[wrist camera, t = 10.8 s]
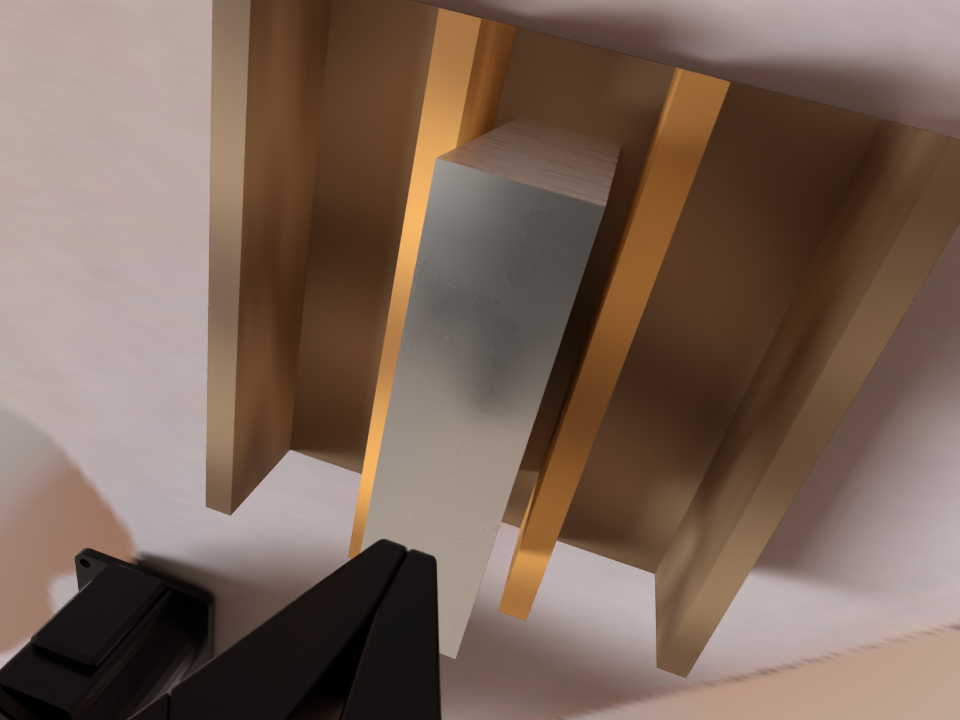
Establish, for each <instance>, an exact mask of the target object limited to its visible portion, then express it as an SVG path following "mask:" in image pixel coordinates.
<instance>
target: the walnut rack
mask: <svg viewBox="0 0 960 720" xmlns="http://www.w3.org/2000/svg"><path fill="white" fill-rule="evenodd" d="M519 117H524V118H528V119H532V120H535V121H539V122H542V123H546V124H549V125H553V126H556V127H560V128H564V129H567V130H571V131H574V132H578V133H581V134H585V135H588V136H592V137H596V138H599V139H603V140H606V141H610V142H613V143H617V144H621V149H620V153H619V157H618V161H617V164H616V168H615V172H614V176H613V180H612V184H611V187H610V191H609V195H608V199H607V203H606V207H605V210H604V213H603V216H602V219H601V222H600V225H599V228H598V231H597V234H596V237H595V240H594V243H593V246H592V249H591V252H590V255H589V258H588V261H587V264H586V267H585V270H584V273H583V276H582V279H581V282H580V285H579V288H578V291H577V294H576V297H575V300H574V303H573V306H572V309H571V312H570V315H569V318H568V321H567V324H566V327H565V331H564V334H563V337H562V340H561V343H560V346H559V349H558V352H557V355H556V358H555V361H554V364H553V367H552V370H551V373H550V376H549V379H548V382H547V385H546V388H545V391H544V394H543V397H542V400H541V403H540V406H539V409H538V412H537V415H536V418H535V421H534V424H533V427H532V430H531V433H530V436H529V439H528V442H527V445H526V448H525V451H524V454H523V457H522V460H521V463H520V466H519V469H518V472H517V475H516V478H515V481H514V484H513V487H512V490H511V493H510V496H509V499H508V502H507V505H506V509H505V512H504V515H503V518H502V521H501V522H504V523H507V524H510V525H513V526H516V527H519V528H520V531H519V535H518V538H517V542H516V546H515V550H514V554H513V557H512V561H511V565H510V569H509V573H508V576H507V580H506V584H505V588H504V592H503V595H502V599H501V603H500V607H499V610H498V611H500V612H502V613H505V614H508V615H511V616H514V617H516V618H519V619H522V620H525V621H526V619H527V617H528V614H529V611H530V609H531V606H532V603H533V601H534V598H535V596H536V593H537V590H538V588H539V585H540V582H541V580H542V577H543V575H544V572H545V569H546V567H547V564H548V561H549V559H550V556H551V553H552V551H553V548H554V546H555V543H556V540H557V541H560V542H563V543H566V544H569V545H571V546H574V547H577V548H580V549H583V550H586V551H589V552H592V553H595V554H598V555H601V556H604V557H607V558H610V559H613V560H616V561H618V562H621V563H624V564H627V565H630V566H633V567H636V568H639V569H642V570H645V571H648V572H651V573H654V574H655V599H656V649H657V668H659V669H662V670H665V671H668V672H671V673H673V674H676V675H679V676H682V677H685V678H686V677H687V675H688V674H689V672H690V670H691V669H692V667H693V665H694V664H695V662H696V660H697V659H698V657H699V655H700V654H701V652H702V651H703V649H704V647H705V646H706V644H707V642H708V641H709V639H710V637H711V636H712V634H713V632H714V631H715V629H716V627H717V626H718V624H719V622H720V621H721V619H722V617H723V616H724V614H725V612H726V611H727V609H728V607H729V606H730V604H731V602H732V601H733V599H734V597H735V596H736V594H737V592H738V591H739V589H740V587H741V586H742V584H743V582H744V581H745V579H746V577H747V576H748V574H749V572H750V571H751V569H752V567H753V566H754V564H755V562H756V561H757V559H758V557H759V556H760V554H761V552H762V551H763V549H764V547H765V546H766V544H767V542H768V541H769V539H770V537H771V536H772V534H773V532H774V531H775V529H776V527H777V526H778V524H779V522H780V521H781V519H782V517H783V516H784V514H785V512H786V511H787V509H788V507H789V506H790V504H791V502H792V501H793V499H794V497H795V496H796V494H797V492H798V491H799V489H800V488H801V486H802V484H803V483H804V481H805V479H806V478H807V476H808V474H809V473H810V471H811V469H812V468H813V466H814V464H815V463H816V461H817V459H818V458H819V456H820V454H821V453H822V451H823V449H824V448H825V446H826V444H827V443H828V441H829V439H830V438H831V436H832V434H833V433H834V431H835V429H836V428H837V426H838V424H839V423H840V421H841V419H842V418H843V416H844V414H845V413H846V411H847V409H848V408H849V406H850V404H851V403H852V401H853V399H854V398H855V396H856V394H857V393H858V391H859V389H860V388H861V386H862V384H863V383H864V381H865V379H866V378H867V376H868V374H869V373H870V371H871V369H872V368H873V366H874V364H875V363H876V361H877V359H878V358H879V356H880V354H881V353H882V351H883V349H884V348H885V346H886V344H887V343H888V341H889V339H890V338H891V336H892V334H893V333H894V331H895V329H896V328H897V326H898V325H899V323H900V321H901V320H902V318H903V316H904V315H905V313H906V311H907V310H908V308H909V306H910V305H911V303H912V301H913V300H914V298H915V296H916V295H917V293H918V291H919V290H920V288H921V286H922V285H923V283H924V281H925V280H926V278H927V276H928V275H929V273H930V271H931V270H932V268H933V266H934V265H935V263H936V261H937V260H938V258H939V256H940V255H941V253H942V251H943V250H944V248H945V246H946V245H947V243H948V241H949V240H950V238H951V236H952V235H953V233H954V231H955V230H956V228H957V226H958V225H959V223H960V139H956V138H952V137H948V136H944V135H941V134H937V133H933V132H929V131H925V130H922V129H918V128H914V127H910V126H907V125H903V124H899V123H895V122H891V121H887V120H883V119H879V118H875V117H871V116H867V115H863V114H859V113H855V112H851V111H847V110H843V109H840V108H836V107H832V106H828V105H824V104H820V103H816V102H812V101H808V100H804V99H800V98H796V97H792V96H788V95H784V94H780V93H776V92H772V91H768V90H764V89H760V88H757V87H753V86H749V85H745V84H741V83H737V82H733V81H729V80H725V79H721V78H717V77H713V76H709V75H705V74H701V73H697V72H693V71H689V70H685V69H681V68H677V67H674V66H670V65H666V64H662V63H658V62H654V61H650V60H646V59H642V58H638V57H634V56H630V55H626V54H622V53H618V52H614V51H610V50H606V49H602V48H598V47H595V46H591V45H587V44H583V43H579V42H575V41H571V40H567V39H563V38H559V37H555V36H551V35H547V34H543V33H539V32H535V31H531V30H527V29H523V28H519V27H515V26H512V25H508V24H504V23H500V22H496V21H492V20H488V19H484V18H480V17H476V16H472V15H468V14H464V13H460V12H456V11H452V10H448V9H444V8H440V7H436V6H432V5H429V4H425V3H421V2H417V1H413V0H213V12H212V86H211V159H210V233H209V307H208V381H207V454H206V507H208V508H211V509H214V510H216V511H219V512H222V513H225V514H228V515H230V516H231V515H232V513H233V512H234V511H235V510H236V509H237V508H238V507H239V506H240V505H241V503H242V502H243V501H244V500H245V499H246V498H247V497H248V496H249V495H250V493H251V492H252V491H253V490H254V489H255V488H256V487H257V486H258V485H259V483H260V482H261V481H262V480H263V479H264V478H265V477H266V476H267V475H268V473H269V472H270V471H271V470H272V469H273V468H274V467H275V466H276V465H277V463H278V462H279V461H280V460H281V459H282V458H283V457H284V456H285V455H286V454H287V452H288V451H289V450H293V451H296V452H299V453H302V454H304V455H307V456H310V457H313V458H316V459H319V460H322V461H325V462H328V463H331V464H334V465H337V466H340V467H343V468H346V469H348V470H351V471H354V472H357V473H360V474H362V477H361V483H360V489H359V495H358V501H357V507H356V513H355V519H354V526H353V532H352V538H351V544H350V550H349V556H348V558H351V559H353V558H354V557H355V556H357V555H358V554H360V551H361V545H362V540H363V535H364V530H365V525H366V519H367V514H368V509H369V504H370V499H371V493H372V488H373V483H374V478H375V473H376V467H377V462H378V457H379V452H380V447H381V441H382V436H383V431H384V426H385V421H386V415H387V410H388V405H389V400H390V395H391V389H392V384H393V379H394V374H395V369H396V363H397V358H398V353H399V348H400V343H401V337H402V332H403V327H404V322H405V317H406V311H407V306H408V301H409V296H410V291H411V285H412V280H413V275H414V270H415V265H416V259H417V254H418V249H419V244H420V239H421V233H422V228H423V223H424V218H425V213H426V207H427V202H428V197H429V192H430V187H431V181H432V176H433V171H434V166H435V161H436V158H437V157H439V156H441V155H443V154H445V153H447V152H449V151H451V150H453V149H455V148H457V147H459V146H461V145H463V144H465V143H467V142H469V141H471V140H474V139H476V138H478V137H480V136H482V135H484V134H486V133H488V132H490V131H492V130H494V129H496V128H498V127H500V126H502V125H504V124H506V123H508V122H511V121H513V120H515V119H517V118H519Z"/></svg>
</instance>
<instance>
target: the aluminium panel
mask: <svg viewBox="0 0 960 720" xmlns="http://www.w3.org/2000/svg"><path fill="white" fill-rule="evenodd" d="M620 149H621V144H617V143H613V142H610V141H606V140H603V139H599V138H596V137H592V136H588V135H585V134H581V133H578V132H574V131H571V130H567V129H564V128H560V127H556V126H553V125H549V124H546V123H542V122H539V121H535V120H532V119H528V118H524V117H519V118H517V119H515V120H513V121H511V122H508V123H506V124H504V125H502V126H500V127H498V128H496V129H494V130H492V131H490V132H488V133H486V134H484V135H482V136H480V137H478V138H476V139H474V140H471V141H469V142H467V143H465V144H463V145H461V146H459V147H457V148H455V149H453V150H451V151H449V152H447V153H445V154H443V155H441V156H439V157H437V158H436V161H435V166H434V171H433V176H432V181H431V187H430V192H429V197H428V202H427V207H426V213H425V218H424V223H423V228H422V233H421V239H420V244H419V249H418V254H417V259H416V265H415V270H414V275H413V280H412V285H411V291H410V296H409V301H408V306H407V311H406V317H405V322H404V327H403V332H402V337H401V343H400V348H399V353H398V358H397V363H396V369H395V374H394V379H393V384H392V389H391V395H390V400H389V405H388V410H387V415H386V421H385V426H384V431H383V436H382V441H381V447H380V452H379V457H378V462H377V467H376V473H375V478H374V483H373V488H372V493H371V499H370V504H369V509H368V514H367V519H366V525H365V530H364V535H363V540H362V545H361V551H360V553H361V552H362V551H364V550H365V549H367V548H368V547H369V546H371V545H372V544H374V543H375V542H376V541H378V540H380V539H388V540H391V541H393V542H396V543H399V544H402V545H405V546H406V547H407V549H408V551H409V550H410V549H416V550H419V551H422V552H425V553H427V554H430V555H433V556H435V558H436V560H437V582H438V615H439V648H440V653H441V654H443V655H446V656H448V657H451V658H454V659H456V656H457V653H458V650H459V647H460V644H461V641H462V638H463V635H464V632H465V629H466V626H467V623H468V620H469V617H470V614H471V611H472V608H473V605H474V602H475V599H476V596H477V593H478V590H479V587H480V584H481V581H482V578H483V575H484V572H485V569H486V566H487V563H488V560H489V557H490V554H491V551H492V548H493V545H494V542H495V539H496V536H497V533H498V530H499V527H500V524H501V521H502V518H503V515H504V512H505V509H506V505H507V502H508V499H509V496H510V493H511V490H512V487H513V484H514V481H515V478H516V475H517V472H518V469H519V466H520V463H521V460H522V457H523V454H524V451H525V448H526V445H527V442H528V439H529V436H530V433H531V430H532V427H533V424H534V421H535V418H536V415H537V412H538V409H539V406H540V403H541V400H542V397H543V394H544V391H545V388H546V385H547V382H548V379H549V376H550V373H551V370H552V367H553V364H554V361H555V358H556V355H557V352H558V349H559V346H560V343H561V340H562V337H563V334H564V331H565V327H566V324H567V321H568V318H569V315H570V312H571V309H572V306H573V303H574V300H575V297H576V294H577V291H578V288H579V285H580V282H581V279H582V276H583V273H584V270H585V267H586V264H587V261H588V258H589V255H590V252H591V249H592V246H593V243H594V240H595V237H596V234H597V231H598V228H599V225H600V222H601V219H602V216H603V213H604V210H605V207H606V203H607V199H608V195H609V191H610V187H611V184H612V180H613V176H614V172H615V168H616V164H617V161H618V157H619V153H620Z"/></svg>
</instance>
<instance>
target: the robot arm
mask: <svg viewBox="0 0 960 720" xmlns="http://www.w3.org/2000/svg"><path fill="white" fill-rule="evenodd" d="M75 564H76V572H77V580H78V588H79V592H78V593H77V594H76V595H75V596H74V597H73V598H72V599H71V600H69V601H68V602H67V603H66V604H65V605H64V606H63V607H62V608H61V609H60V610H59V611H58V612H57V613H56V614H55V615H54V616H53V617H52V618H50V619H49V620H48V621H47V622H46V623H45V624H44V625H43V626H42V627H41V628H40V629H39V630H38V631H37V632H36V633H35V634H34V635H33V636H32V637H31V640H30V641H29V642H28V643H27V644H26V645H25V646H24V647H23V648H22V649H21V650H20V651H19V652H18V653H17V654H16V655H15V656H14V657H13V658H11V659H10V660H9V661H8V662H7V663H6V664H5V665H4V666H3V667H2V668H1V669H0V720H442V715H441V681H440V648H439V615H438V582H437V560H436V558H435V556H433V555H430V554H427V553H425V552H422V551H419V550H416V549H410V550H409V551H408V549H407V547H406V546H405V545H402V544H399V543H396V542H393V541H391V540H388V539H380V540H378V541H376V542H375V543H374V544H372V545H371V546H369V547H368V548H367V549H365V550H364V551H362V552H361V553H360V554H358V555H357V556H355V557H354V558H353V559H351V560H350V561H348V562H347V563H346V564H344V565H343V566H341V567H340V568H339V569H337V570H336V571H334V572H333V573H332V574H330V575H329V576H327V577H326V578H325V579H323V580H322V581H320V582H319V583H318V584H316V585H315V586H313V587H312V588H311V589H309V590H308V591H306V592H305V593H304V594H302V595H301V596H299V597H298V598H297V599H295V600H294V601H292V602H291V603H290V604H288V605H287V606H285V607H284V608H283V609H281V610H280V611H279V612H277V613H276V614H274V615H273V616H272V617H270V618H269V619H267V620H266V621H265V622H263V623H262V624H260V625H259V626H258V627H256V628H255V629H253V630H252V631H251V632H249V633H248V634H246V635H245V636H244V637H242V638H241V639H239V640H238V641H237V642H235V643H234V644H232V645H231V646H230V647H228V648H227V649H225V650H224V651H223V652H221V653H220V654H218V655H217V656H216V657H214V658H213V631H214V599H213V598H212V596H211V595H210V594H209V593H207V592H205V591H203V590H200V589H198V588H195V587H192V586H190V585H187V584H184V583H182V582H179V581H176V580H173V579H171V578H168V577H165V576H163V575H160V574H157V573H155V572H152V571H149V570H147V569H144V568H141V567H139V566H136V565H133V564H130V563H128V562H125V561H122V560H120V559H117V558H114V557H112V556H109V555H106V554H104V553H101V552H98V551H95V550H93V549H89V548H85V549H83V550H82V551H81V552H80V553H79V554H78V555H76V557H75Z"/></svg>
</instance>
